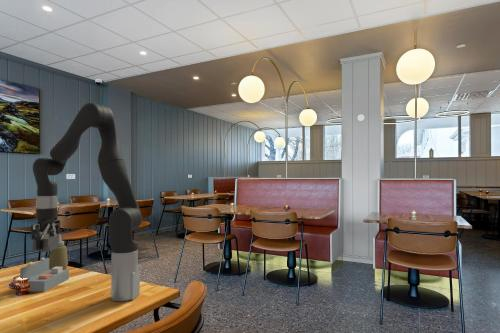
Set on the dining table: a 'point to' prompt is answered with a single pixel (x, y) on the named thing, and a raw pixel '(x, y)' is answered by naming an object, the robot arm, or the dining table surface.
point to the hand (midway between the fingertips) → (45, 247)
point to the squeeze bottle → (58, 256)
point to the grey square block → (47, 244)
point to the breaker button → (45, 276)
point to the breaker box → (39, 269)
